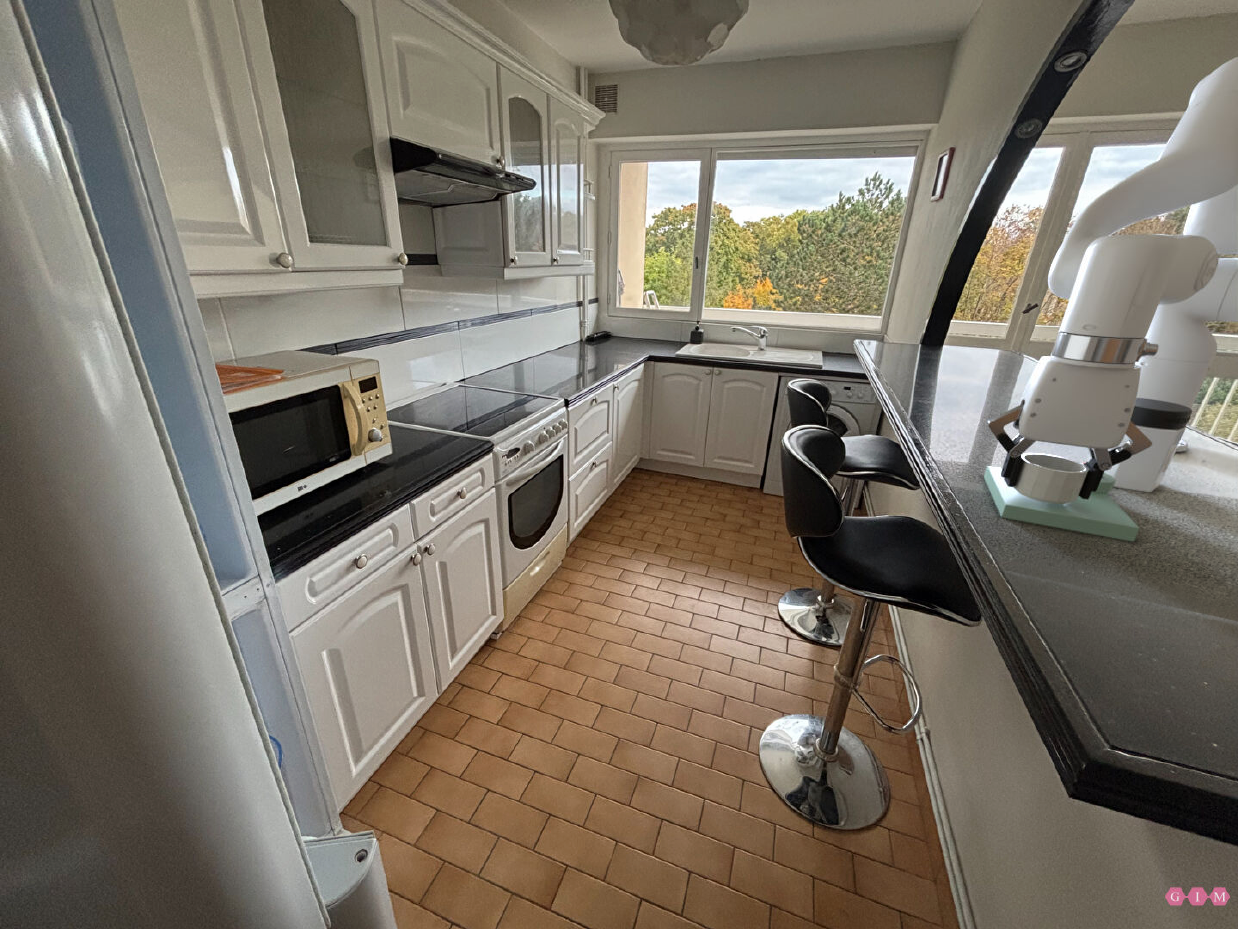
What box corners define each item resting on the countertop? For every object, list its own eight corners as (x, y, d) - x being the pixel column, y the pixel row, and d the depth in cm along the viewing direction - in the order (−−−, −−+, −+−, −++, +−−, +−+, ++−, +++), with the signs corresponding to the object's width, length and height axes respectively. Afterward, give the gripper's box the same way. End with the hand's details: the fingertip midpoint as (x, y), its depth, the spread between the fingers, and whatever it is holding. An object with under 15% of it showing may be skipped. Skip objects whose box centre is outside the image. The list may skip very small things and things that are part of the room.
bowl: (1005, 480, 70) (1015, 449, 68) (1067, 490, 67) (1079, 458, 66) (1015, 499, 64) (1026, 466, 63) (1083, 510, 62) (1096, 476, 60)
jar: (1147, 497, 71) (1184, 415, 67) (1075, 477, 78) (1105, 401, 73) (1165, 483, 76) (1201, 406, 71) (1096, 466, 82) (1124, 394, 78)
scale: (982, 475, 78) (989, 453, 77) (1097, 493, 72) (1106, 470, 71) (1001, 517, 65) (1009, 493, 64) (1143, 544, 59) (1155, 517, 58)
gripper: (1179, 352, 58) (1120, 492, 65) (999, 340, 66) (962, 467, 72) (1214, 362, 52) (1144, 516, 59) (1010, 348, 59) (968, 486, 66)
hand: (1044, 488), depth 65 cm, fingers closed on bowl, 6 cm apart
